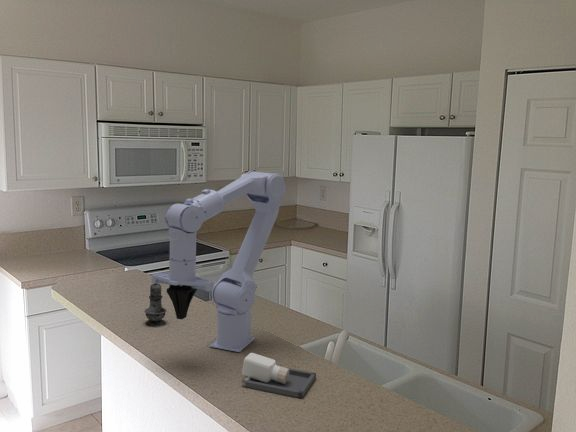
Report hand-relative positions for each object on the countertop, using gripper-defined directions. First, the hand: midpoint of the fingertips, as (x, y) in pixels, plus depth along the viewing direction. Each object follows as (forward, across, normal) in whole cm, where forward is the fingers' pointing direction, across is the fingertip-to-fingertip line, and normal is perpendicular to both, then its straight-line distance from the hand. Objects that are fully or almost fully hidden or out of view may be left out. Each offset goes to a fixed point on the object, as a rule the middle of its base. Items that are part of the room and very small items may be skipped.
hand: (181, 317), depth 119 cm
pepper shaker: (+7, +16, -1) cm, 18 cm away
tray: (+10, +24, 0) cm, 26 cm away
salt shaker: (+11, -19, +19) cm, 29 cm away
